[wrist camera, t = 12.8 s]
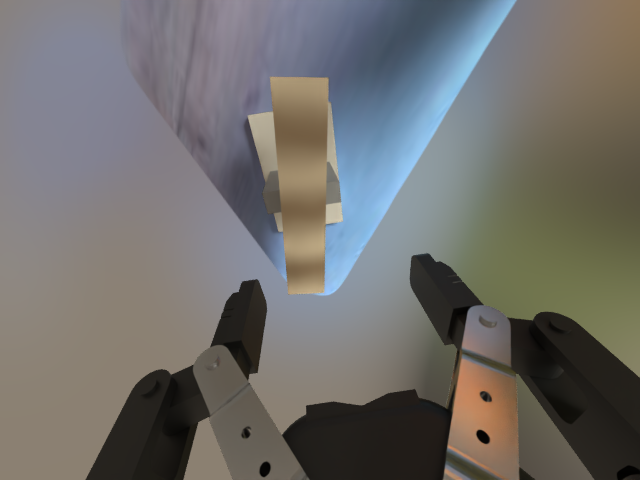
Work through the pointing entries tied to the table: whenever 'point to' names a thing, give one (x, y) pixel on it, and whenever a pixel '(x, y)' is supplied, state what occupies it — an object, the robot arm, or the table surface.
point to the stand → (268, 159)
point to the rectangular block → (302, 176)
